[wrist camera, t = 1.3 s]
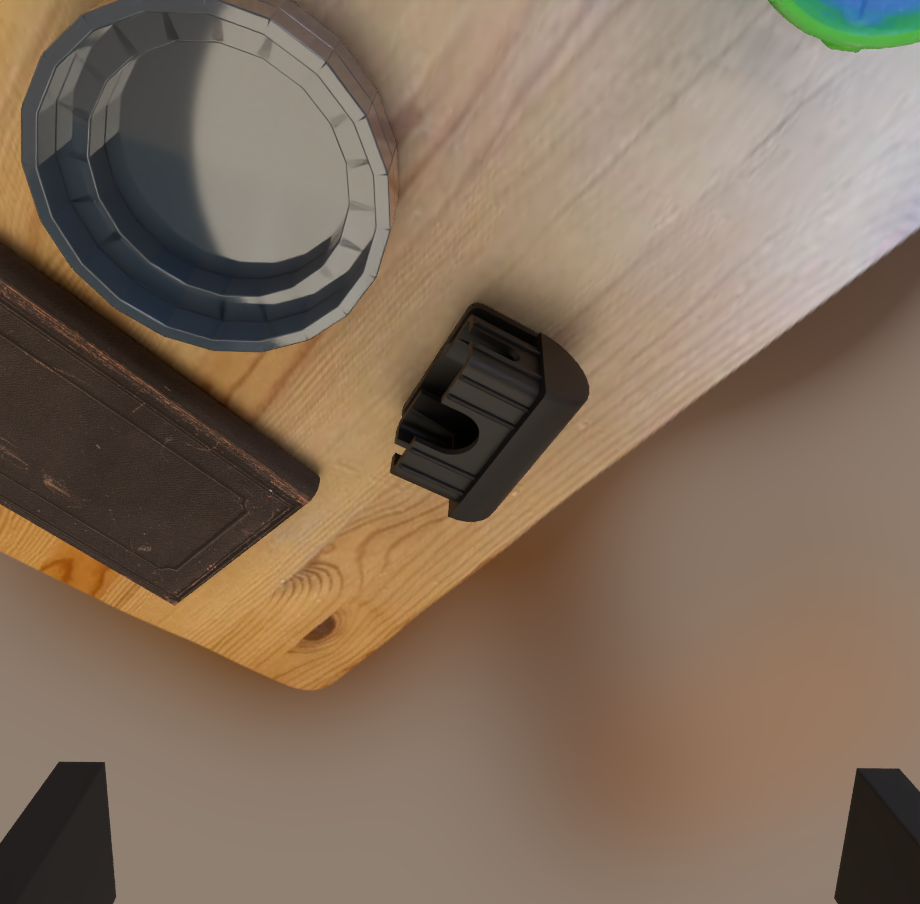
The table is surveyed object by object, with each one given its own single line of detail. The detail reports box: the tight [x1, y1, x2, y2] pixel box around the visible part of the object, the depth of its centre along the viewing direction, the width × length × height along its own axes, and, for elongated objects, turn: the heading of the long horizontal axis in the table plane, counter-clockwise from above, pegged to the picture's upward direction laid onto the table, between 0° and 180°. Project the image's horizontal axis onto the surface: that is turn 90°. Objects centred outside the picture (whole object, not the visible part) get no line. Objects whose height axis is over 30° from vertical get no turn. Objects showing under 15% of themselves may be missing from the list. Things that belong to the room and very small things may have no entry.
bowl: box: [21, 0, 399, 352], centre depth 39 cm, size 16×16×4 cm
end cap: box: [390, 303, 589, 522], centre depth 46 cm, size 10×7×7 cm
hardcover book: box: [0, 243, 320, 606], centre depth 51 cm, size 16×23×2 cm
